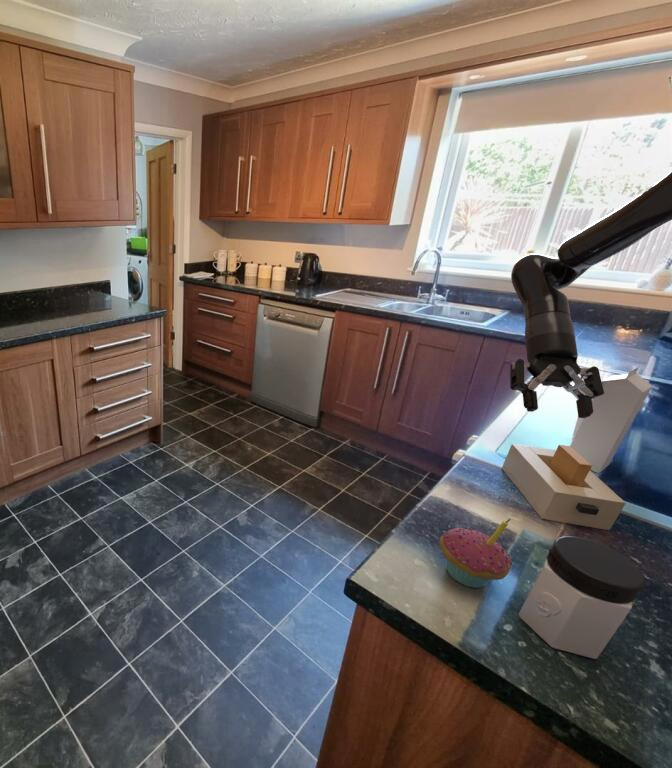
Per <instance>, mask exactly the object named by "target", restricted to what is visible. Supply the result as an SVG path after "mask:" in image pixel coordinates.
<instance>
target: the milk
mask: <svg viewBox="0 0 672 768" xmlns="http://www.w3.org/2000/svg"><path fill="white" fill-rule="evenodd" d="M639 368H640V366H639V365H638V366H636V367H634V368H633V369H630V371H629V372H628V373H623V374H622V373H621V374H615V375H611V376H609V377H607V378H605V379H604V380H603V379H602V380H601V381H602V386H603V390H604V394H603V395H600V396H598V397H596V398H594V399H593V401H592V407H593V413H592V414H591V415H590V416H589V417H586V418H584V419H583V421H582V423H581V425H580V427H579V429H578V431H577V433H576V435H575V437H574V439H572V441H571V443H570V445H569V446H570V447H572V448H573V449H574V450H575V451H576V452H577V453H578V454H580V455H581V456H582V457H583V458H584V459H585V460H586V461H587V462H589V463H590V464H591V465H592V467H591V469H590V471H591V472H595V473H597V474H601V472H602V471H604V470H605V469H606V468H607V467H608V466H609V465H610V464H611V462H612V461H613V458H614V457H615V455H616V453H617V451H618V450H619V447H620V446H621V444H622V442H623V440H624V439H625V437H626V436H627V433H628V431H629V430H630V428H631V426H632V424H633V423H634V421H635V419H636V418H637V416H638V413H639V412H640V411H641V410H640V408H641V406H642V404H643V402H644V401H645V399H646V400H647V397H648V395H649V393H650V392H651V390H652V388H653V385H652V384H651V383H650V382H648V381H647V380H645V378H643V377H641V375H639V374H638V370H639ZM639 410H640V411H639ZM638 411H639V412H638Z"/></svg>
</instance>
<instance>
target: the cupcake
mask: <svg viewBox="0 0 672 768" xmlns="http://www.w3.org/2000/svg"><path fill="white" fill-rule="evenodd" d="M511 520H512V518H508V519H507V520H503V521H502V522H501V523H500V525H499V526H498V527H497V529H496V530H495V531H494V532H493V533H492V534H491V536H490V535H488V534H487V533H484V532H481V531H478V530H475V529H470V528H467V527H453V528H451V529H449V530H446V531H445V532H443V534H442V535H441V536H440V538H439V541H438V543H439V548H440V550H441V552H442V555H443V557H444V558H445V561H446V571H447V573H448V574H449V576H450V577H451V578H452V579H454V581H456V582H458V583H459V584H461V585H463V586H466V587H469V588H472V589H478V588H482V587H483V586H485V585H486V584H488V583H489V582H490V581H491V580H492V581H493V580H495V581H499V580H503V579H505V578H506V577H507V575H509V573H510V570H511V568H512V566H513V564H512V562H513V559H512V556H510V554H508V551H507V550H506V549H505V547H504V546H502V544H500V543H499V542H498V541H497V540H498V538H499V537H500V536H501V535H502V534H503V532H504V531H505V530H506V528H507V527H508V526H509V522H510V521H511Z"/></svg>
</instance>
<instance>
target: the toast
mask: <svg viewBox="0 0 672 768" xmlns="http://www.w3.org/2000/svg"><path fill="white" fill-rule="evenodd" d="M555 450H556V452H555V454H554V456H553V458H552V460H551V462H550V464H549V466H548V467H549V468H550V469H551V470H552V471H553V472H554V473H555V474H556V475H557V476H558V477H559V478H560V479H561V480H562V481H563V482H564V483H565V485H571V486H578V487H581V486H582V484H583V482H584V480H585V478H586V476H587V474H588V473H589V471H591V470H590V469H591V467H592V465H591V464H590V463H589V462H587V461H586V460H585V459H584V458H583V457H582V456H581V455H580V454H578V453H577V452H576V451H575V450H574V449H573V448H572V447H570V445H565V444H558V446H557V448H556V449H555Z"/></svg>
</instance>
